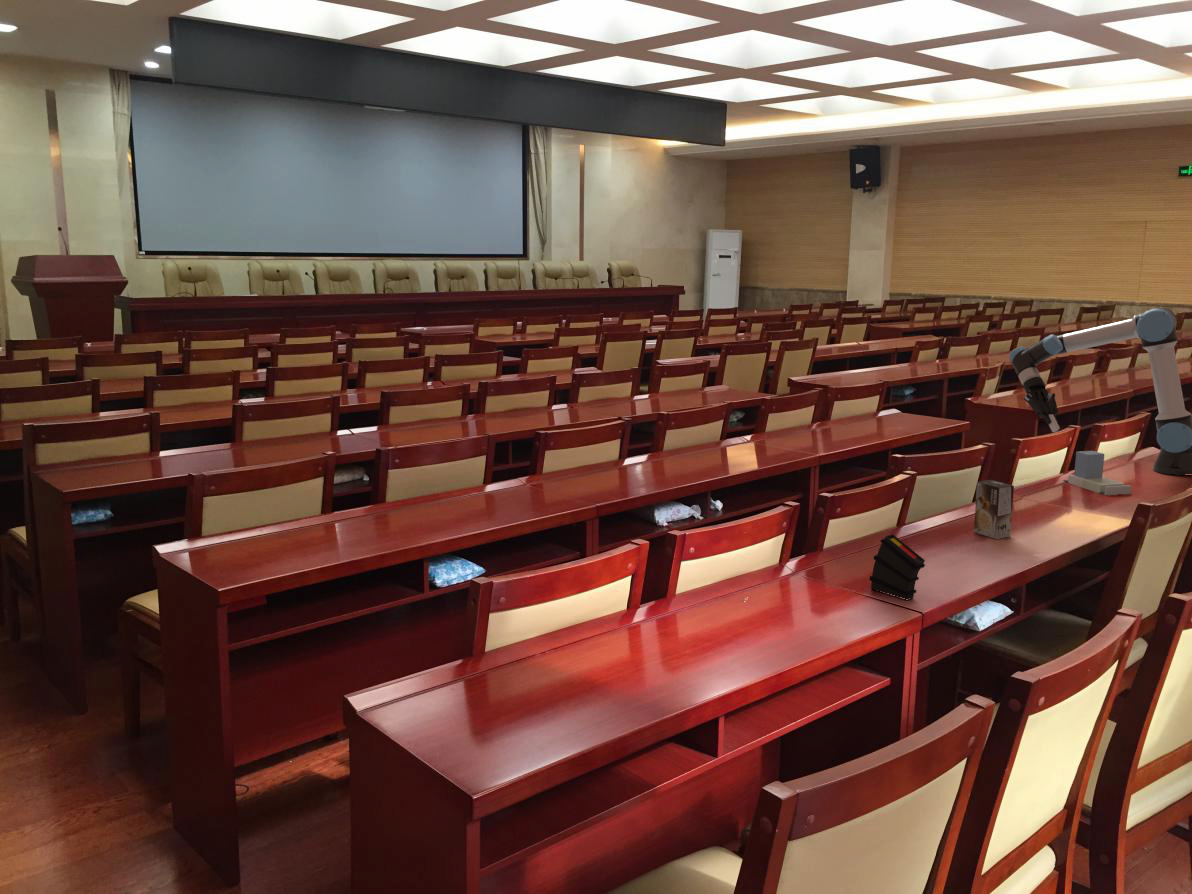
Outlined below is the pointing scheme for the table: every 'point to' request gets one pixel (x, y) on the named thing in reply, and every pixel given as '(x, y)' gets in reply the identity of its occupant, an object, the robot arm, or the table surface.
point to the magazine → (896, 568)
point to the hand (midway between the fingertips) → (1056, 430)
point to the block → (1089, 464)
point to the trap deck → (1100, 485)
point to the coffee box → (993, 509)
